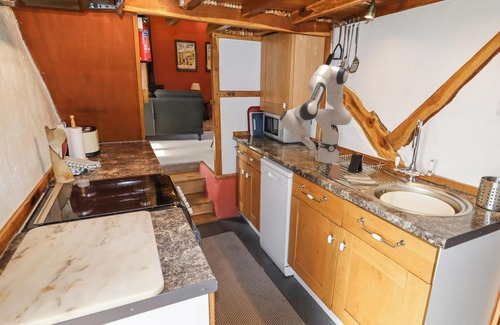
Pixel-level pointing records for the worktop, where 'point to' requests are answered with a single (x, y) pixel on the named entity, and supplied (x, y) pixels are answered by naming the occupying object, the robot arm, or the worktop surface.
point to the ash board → (360, 180)
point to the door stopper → (355, 163)
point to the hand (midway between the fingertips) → (315, 150)
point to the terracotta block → (335, 171)
